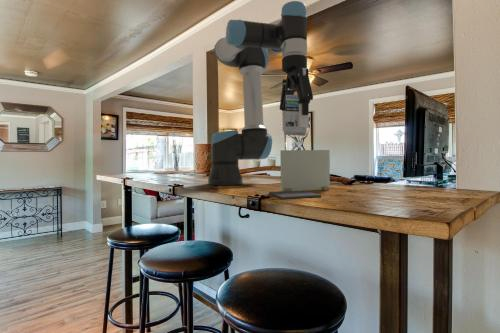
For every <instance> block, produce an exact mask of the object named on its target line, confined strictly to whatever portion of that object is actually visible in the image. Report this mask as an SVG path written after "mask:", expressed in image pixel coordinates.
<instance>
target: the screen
mask: <svg viewBox="0 0 500 333" xmlns="http://www.w3.org/2000/svg"><path fill="white" fill-rule="evenodd" d="M279 155H280V156H279V157H280V191H302V190H304V191H320V190H321V191H330V189H331V188H330V186H331V185H330V184H331V182H330V181H331V178H330V177H331V175H330V174H331V172H330V169H331V168H330V163H331V162H330V157H331V156H330V155H331V154H330V149H301V150H300V149H296V150H295V149H294V150H293V149H289V150H286V149H285V150H283V149H282V150H281V149H280V154H279Z"/></svg>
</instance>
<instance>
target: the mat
mask: <svg viewBox="0 0 500 333" xmlns="http://www.w3.org/2000/svg"><path fill="white" fill-rule="evenodd" d="M268 194H269V195H271V196H273V197H276V198H279V199H281V200H290V199H291V200H292V199H309V198H311V199H314V198H322V194H319V193H315V192H311V191H309V190H302V191H281V190H280V191H269V192H268Z"/></svg>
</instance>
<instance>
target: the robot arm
mask: <svg viewBox="0 0 500 333" xmlns="http://www.w3.org/2000/svg"><path fill="white" fill-rule="evenodd" d="M307 13H308V12H307V6H306V4H305V3H304V2H303V1H300V0H299V1H298V0H292V1H287V2H286V3H285V4H284V5H282V7H281V14H280V17H281V19H280V20H279V22H278V23H277V24H276V23H267V22H266V23H265V22H259V21H252V20H251V21H249V20H243V19H230V20H228V22H227V25H226V29H225V37H221V38H220V39H218V40H217V41H216V43H215V45H214V48H213V50H214V51H213V53H214V56H215V58H216V59H217V60H218V61H219V62H220V63H221V64H223V65H224V66H227V67H230V68H232V67H233V68H238V72H239V74H241V76H242V90H243V91H242V92H243V93H242V95H243V116H244V118H243V119H244V127H243V128H242V129H241V133H239V131H238V130H237V129H235V130H234V129H233V130H223V131H219V132H215V133H213V134H212V135H211V144H210V146H211V168H210V172H209V175H208V178H207V183H208V185H210V186H236V185H242V184H243V175H242V173H241V171H240V170H241V169H240V167H239V160H240V161H242V160H245V161H247V160H256V161H260V160H266V159H267V158H268V157H269V156H270V154H271V151H272V148H273V138H272V134H271V133H269V132H268V128H266V126H265V125H264V110H263V109H264V107H263V106H264V105H263V104H264V103H263V82H262V75H263V73H265V70H266V69H267V67H268V64H269V52H271V53H273V54H275V55H277V54H281V57H282V59H281V70H282V72H283V73H285V74H286V78H283V79H282V83H281V84H282V87H281V94H280V95H281V96H280V103H279V110H280V111H281V112H282V114H281V115H282V132H284V120H285V105H286V95H295V93H296V95H298V97H299V102H298V103H302V104H299V127H304V128H307V129H308V128H309V127H310V125H309V124H310V118H309V117H310V116H309V114H310V113H309V111H310V108H309V106H310V103H311V101H313V100H314V96H313V95H314V94H313V90H312V86H311V81H310V76H309V68H308V57H307V56H308V14H307ZM268 50H269V51H268Z"/></svg>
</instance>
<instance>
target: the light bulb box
mask: <svg viewBox="0 0 500 333" xmlns="http://www.w3.org/2000/svg"><path fill="white" fill-rule="evenodd" d="M298 102H299V97H298V95H297V94H294V95H286V105H285V120H284V131H283V134H284V135H285V136H301V137H303V136H304V137H305V136H306V135H307V129H308V128H304V127H299V104H302V103H298Z"/></svg>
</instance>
